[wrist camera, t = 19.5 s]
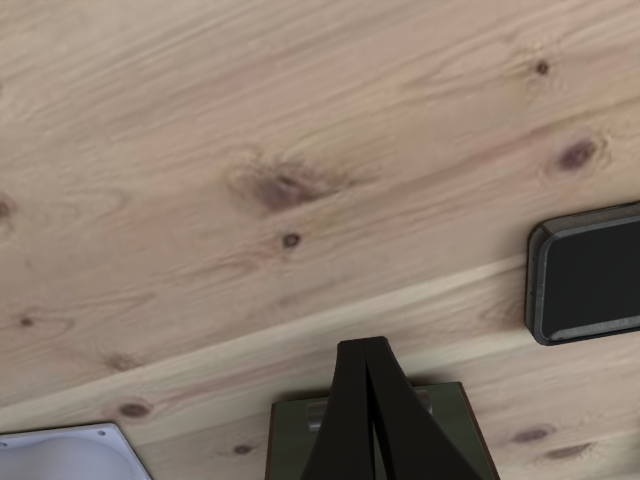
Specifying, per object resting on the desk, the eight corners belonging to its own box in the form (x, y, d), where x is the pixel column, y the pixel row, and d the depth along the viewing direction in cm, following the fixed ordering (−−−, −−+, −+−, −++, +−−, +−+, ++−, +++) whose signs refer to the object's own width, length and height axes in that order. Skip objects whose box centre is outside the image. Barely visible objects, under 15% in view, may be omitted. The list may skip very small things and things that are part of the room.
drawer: (261, 355, 23) (246, 461, 18) (459, 331, 23) (506, 434, 17) (307, 504, 32) (306, 607, 26) (452, 490, 31) (482, 592, 26)
